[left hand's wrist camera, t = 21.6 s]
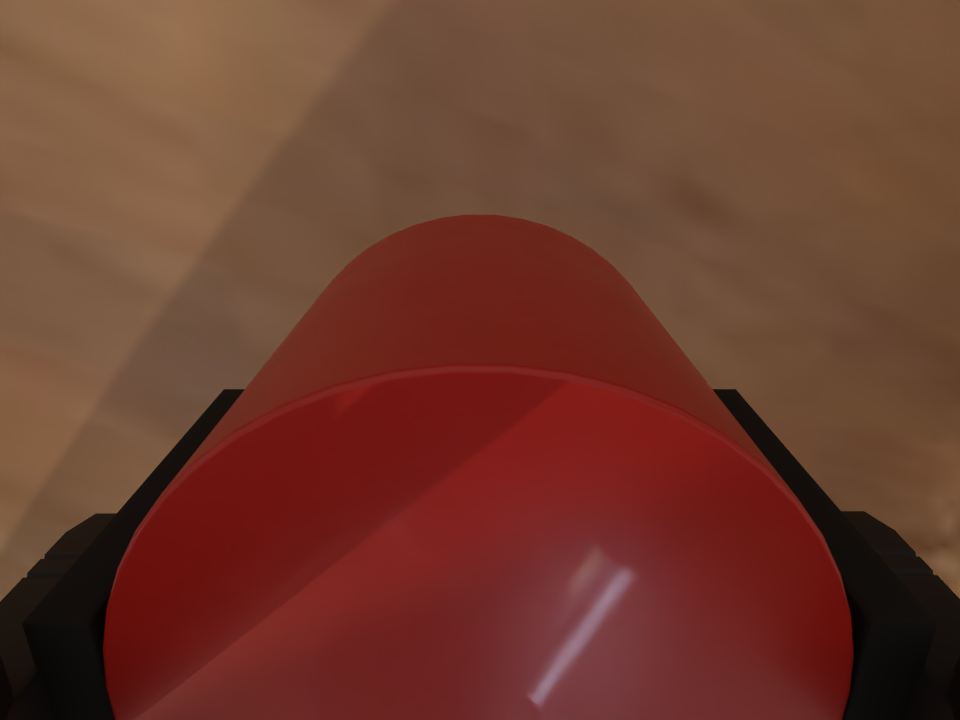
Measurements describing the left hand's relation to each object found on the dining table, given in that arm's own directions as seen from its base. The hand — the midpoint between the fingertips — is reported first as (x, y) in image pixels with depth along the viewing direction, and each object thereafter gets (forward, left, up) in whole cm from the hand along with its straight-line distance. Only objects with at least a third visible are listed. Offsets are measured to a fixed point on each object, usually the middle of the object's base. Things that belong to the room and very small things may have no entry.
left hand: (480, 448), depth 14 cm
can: (0, 0, -2) cm, 2 cm away
